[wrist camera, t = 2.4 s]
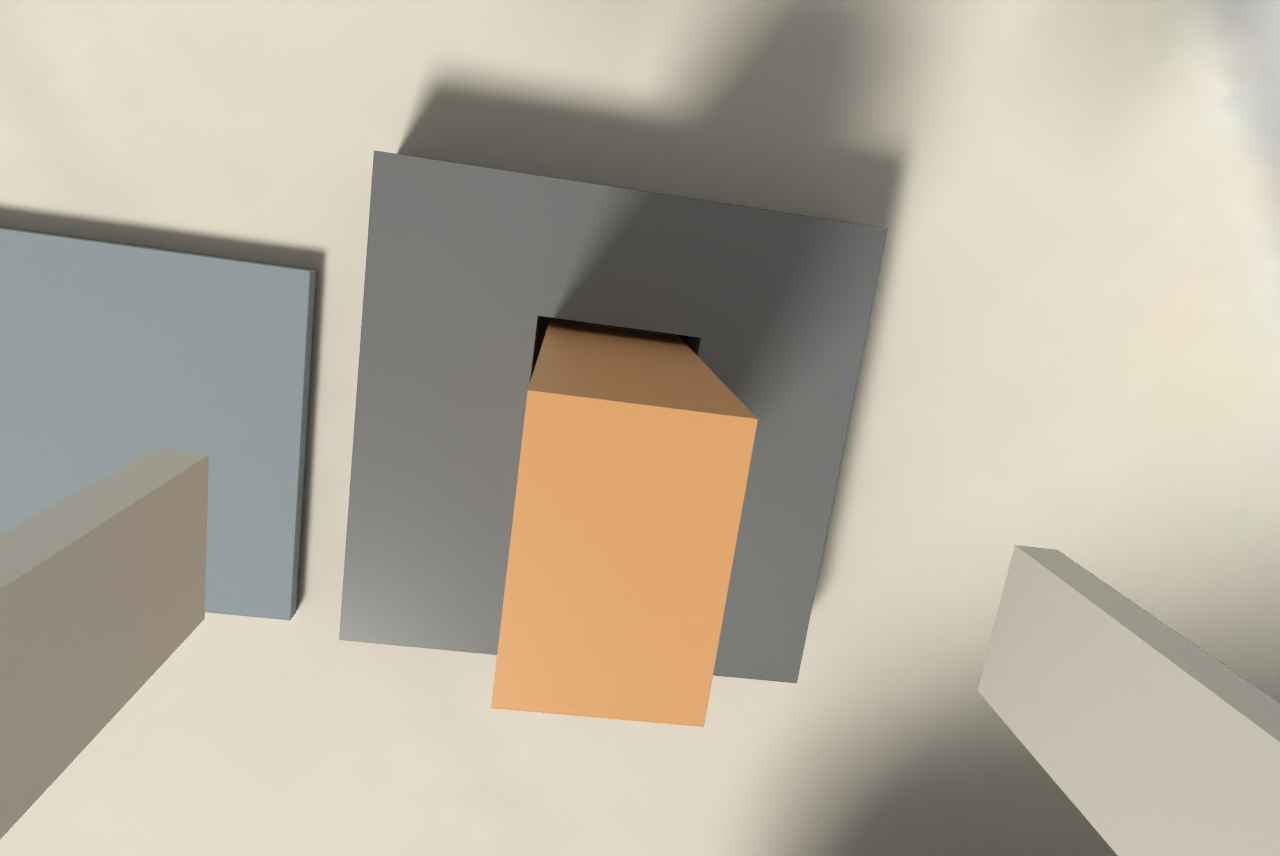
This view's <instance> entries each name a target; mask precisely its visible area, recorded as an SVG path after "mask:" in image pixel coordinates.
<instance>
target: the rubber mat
mask: <svg viewBox="0 0 1280 856" xmlns="http://www.w3.org/2000/svg"><path fill="white" fill-rule="evenodd" d="M315 283H316V270H310V269H303V268H296V267H288V266H281V265H274V264H266V263H259V262H252V261H244V260H237V259H230V258H222V257H215V256H208V255H200V254H193V253H186V252H179V251H171V250H164V249H157V248H149V247H142V246H135V245H127V244H120V243H113V242H105V241H98V240H91V239H83V238H76V237H69V236H62V235H54V234H47V233H40V232H32V231H25V230H18V229H10V228H3V227H0V535H1V534H2V533H4V532H6V531H8V530H10V529H12V528H13V527H15V526H17V525H19V524H21V523H22V522H24V521H26V520H28V519H30V518H31V517H33V516H35V515H37V514H39V513H41V512H42V511H44V510H46V509H48V508H50V507H51V506H53V505H55V504H57V503H59V502H61V501H62V500H64V499H66V498H68V497H70V496H71V495H73V494H75V493H77V492H79V491H80V490H82V489H84V488H86V487H88V486H90V485H91V484H93V483H95V482H97V481H99V480H100V479H102V478H104V477H106V476H108V475H109V474H111V473H113V472H115V471H117V470H119V469H120V468H122V467H124V466H126V465H128V464H129V463H131V462H133V461H135V460H137V459H139V458H140V457H142V456H144V455H146V454H148V453H149V452H151V451H153V450H155V449H165V450H174V451H183V452H192V453H201V454H209V471H208V507H207V543H206V579H205V612H209V613H220V614H230V615H240V616H251V617H261V618H272V619H282V620H291V618H292V617H293V615H294V614H295V613H296V604H297V587H298V570H299V554H300V537H301V520H302V503H303V486H304V469H305V452H306V435H307V418H308V401H309V384H310V367H311V351H312V334H313V317H314V300H315Z"/></svg>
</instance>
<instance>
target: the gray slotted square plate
mask: <svg viewBox="0 0 1280 856" xmlns="http://www.w3.org/2000/svg"><path fill="white" fill-rule="evenodd" d="M886 233H887V228H882V227H875V226H869V225H862V224H856V223H849V222H842V221H836V220H829V219H823V218H816V217H809V216H803V215H796V214H790V213H783V212H776V211H770V210H763V209H757V208H750V207H743V206H737V205H730V204H724V203H717V202H710V201H704V200H697V199H691V198H684V197H677V196H671V195H664V194H658V193H651V192H644V191H638V190H631V189H624V188H618V187H611V186H605V185H598V184H591V183H585V182H578V181H572V180H565V179H558V178H552V177H545V176H539V175H532V174H525V173H519V172H512V171H506V170H499V169H492V168H486V167H479V166H473V165H466V164H459V163H453V162H446V161H440V160H433V159H426V158H420V157H413V156H407V155H400V154H393V153H387V152H380V151H374V159H373V173H372V187H371V201H370V215H369V229H368V243H367V257H366V271H365V285H364V299H363V313H362V327H361V341H360V355H359V369H358V383H357V397H356V411H355V425H354V439H353V453H352V467H351V481H350V495H349V509H348V523H347V537H346V551H345V565H344V579H343V593H342V607H341V621H340V635H339V640H345V641H356V642H366V643H377V644H387V645H398V646H409V647H419V648H430V649H440V650H451V651H462V652H472V653H483V654H493V655H497V653H498V644H499V635H500V626H501V618H502V609H503V600H504V592H505V583H506V574H507V566H508V557H509V548H510V540H511V531H512V522H513V514H514V505H515V496H516V488H517V479H518V470H519V462H520V453H521V444H522V436H523V427H524V418H525V410H526V401H527V392H528V388H529V385H530V381H531V378H532V375H533V372H534V367H535V358H536V349H537V341H538V332H539V324H540V316H544V317H551V318H558V319H566V320H573V321H581V322H588V323H596V324H603V325H610V326H618V327H625V328H633V329H640V330H647V331H655V332H662V333H670V334H677V335H684V336H688V341H687V346H688V347H689V348H690V349H691V350H692V351H693V352H694V353H695V354H696V355H697V356H698V357H699V358H700V359H701V360H702V361H703V362H704V363H705V364H706V365H707V366H708V367H709V369H710V370H711V371H712V372H713V373H714V374H715V375H716V376H717V377H718V378H719V379H720V380H721V381H722V382H723V383H724V384H725V385H726V386H727V387H728V388H729V389H730V390H731V392H732V393H733V394H734V395H735V396H736V397H737V398H738V399H739V400H740V401H741V402H742V403H743V404H744V405H745V406H746V407H747V408H748V409H749V410H750V411H751V412H752V414H753V415H754V416H755V417H756V418H757V419H758V422H757V427H756V433H755V439H754V444H753V450H752V456H751V461H750V467H749V473H748V478H747V484H746V490H745V496H744V501H743V507H742V513H741V518H740V524H739V530H738V535H737V541H736V547H735V552H734V558H733V564H732V569H731V575H730V581H729V586H728V592H727V598H726V604H725V609H724V615H723V621H722V626H721V632H720V638H719V643H718V649H717V655H716V660H715V666H714V672H713V675H716V676H726V677H737V678H747V679H758V680H769V681H779V682H790V683H797V679H798V674H799V669H800V664H801V659H802V654H803V649H804V644H805V639H806V634H807V629H808V624H809V619H810V614H811V609H812V604H813V599H814V594H815V589H816V584H817V579H818V574H819V569H820V564H821V559H822V554H823V549H824V544H825V539H826V534H827V529H828V524H829V519H830V514H831V509H832V504H833V499H834V494H835V489H836V484H837V479H838V474H839V469H840V464H841V459H842V454H843V449H844V444H845V439H846V434H847V429H848V424H849V419H850V414H851V409H852V404H853V399H854V394H855V389H856V384H857V378H858V373H859V368H860V363H861V358H862V353H863V348H864V343H865V338H866V333H867V328H868V323H869V318H870V313H871V308H872V303H873V298H874V293H875V288H876V283H877V278H878V273H879V268H880V263H881V258H882V253H883V248H884V243H885V238H886Z"/></svg>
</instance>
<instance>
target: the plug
mask: <svg viewBox="0 0 1280 856" xmlns="http://www.w3.org/2000/svg"><path fill="white" fill-rule="evenodd" d="M757 422H758V419H757V418H756V417H755V416H754V415H753V414H752V412H751V411H750V410H749V409H748V408H747V407H746V406H745V405H744V404H743V403H742V402H741V401H740V400H739V399H738V398H737V397H736V396H735V395H734V394H733V393H732V392H731V390H730V389H729V388H728V387H727V386H726V385H725V384H724V383H723V382H722V381H721V380H720V379H719V378H718V377H717V376H716V375H715V374H714V373H713V372H712V371H711V370H710V369H709V367H708V366H707V365H706V364H705V363H704V362H703V361H702V360H701V359H700V358H699V357H698V356H697V355H696V354H695V353H694V352H693V351H692V350H691V349H690V348H689V347H688V346H687V344H686V343H685V342H684V341H683V340H682V339H681V338H680V337H679V336H674V335H667V334H660V333H652V332H645V331H637V330H630V329H622V328H615V327H608V326H600V325H593V324H585V323H578V322H570V321H563V320H556V319H550V321H549V324H548V327H547V330H546V333H545V337H544V340H543V343H542V346H541V349H540V353H539V356H538V359H537V362H536V365H535V369H534V372H533V375H532V378H531V381H530V385H529V388H528V392H527V401H526V410H525V418H524V427H523V436H522V444H521V453H520V462H519V470H518V479H517V488H516V496H515V505H514V514H513V522H512V531H511V540H510V548H509V557H508V566H507V574H506V583H505V592H504V600H503V609H502V618H501V626H500V635H499V644H498V653H497V661H496V670H495V679H494V687H493V696H492V705H491V708H496V709H508V710H519V711H530V712H542V713H553V714H564V715H576V716H587V717H598V718H610V719H621V720H633V721H644V722H655V723H667V724H678V725H689V726H701V727H704V723H705V717H706V712H707V706H708V700H709V694H710V689H711V683H712V677H713V672H714V666H715V660H716V655H717V649H718V643H719V638H720V632H721V626H722V621H723V615H724V609H725V604H726V598H727V592H728V586H729V581H730V575H731V569H732V564H733V558H734V552H735V547H736V541H737V535H738V530H739V524H740V518H741V513H742V507H743V501H744V496H745V490H746V484H747V478H748V473H749V467H750V461H751V456H752V450H753V444H754V439H755V433H756V427H757Z"/></svg>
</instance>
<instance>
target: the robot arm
mask: <svg viewBox="0 0 1280 856" xmlns="http://www.w3.org/2000/svg"><path fill="white" fill-rule="evenodd" d="M208 471H209V454H201V453H192V452H183V451H174V450H165V449H155V450H153V451H151V452H149V453H148V454H146V455H144V456H142V457H140V458H139V459H137V460H135V461H133V462H131V463H129V464H128V465H126V466H124V467H122V468H120V469H119V470H117V471H115V472H113V473H111V474H109V475H108V476H106V477H104V478H102V479H100V480H99V481H97V482H95V483H93V484H91V485H90V486H88V487H86V488H84V489H82V490H80V491H79V492H77V493H75V494H73V495H71V496H70V497H68V498H66V499H64V500H62V501H61V502H59V503H57V504H55V505H53V506H51V507H50V508H48V509H46V510H44V511H42V512H41V513H39V514H37V515H35V516H33V517H31V518H30V519H28V520H26V521H24V522H22V523H21V524H19V525H17V526H15V527H13V528H12V529H10V530H8V531H6V532H4V533H2V534H1V535H0V839H1V838H2V837H3V836H4V835H5V834H6V833H7V832H8V830H9V829H10V828H11V827H12V826H13V825H14V824H15V823H16V822H17V821H18V820H19V819H20V817H21V816H22V815H23V814H24V813H25V812H26V811H27V810H28V809H29V808H30V807H31V806H32V804H33V803H34V802H35V801H36V800H37V799H38V798H39V797H40V796H41V795H42V794H43V793H44V792H45V790H46V789H47V788H48V787H49V786H50V785H51V784H52V783H53V782H54V781H55V780H56V779H57V777H58V776H59V775H60V774H61V773H62V772H63V771H64V770H65V769H66V768H67V767H68V766H69V764H70V763H71V762H72V761H73V760H74V759H75V758H76V757H77V756H78V755H79V754H80V753H81V752H82V750H83V749H84V748H85V747H86V746H87V745H88V744H89V743H90V742H91V741H92V740H93V739H94V737H95V736H96V735H97V734H98V733H99V732H100V731H101V730H102V729H103V728H104V727H105V726H106V724H107V723H108V722H109V721H110V720H111V719H112V718H113V717H114V716H115V715H116V714H117V713H118V712H119V710H120V709H121V708H122V707H123V706H124V705H125V704H126V703H127V702H128V701H129V700H130V699H131V697H132V696H133V695H134V694H135V693H136V692H137V691H138V690H139V689H140V688H141V687H142V686H143V684H144V683H145V682H146V681H147V680H148V679H149V678H150V677H151V676H152V675H153V674H154V673H155V672H156V670H157V669H158V668H159V667H160V666H161V665H162V664H163V663H164V662H165V661H166V660H167V659H168V657H169V656H170V655H171V654H172V653H173V652H174V651H175V650H176V649H177V648H178V647H179V646H180V644H181V643H182V642H183V641H184V640H185V639H186V638H187V637H188V636H189V635H190V634H191V633H192V632H193V630H194V629H195V628H196V627H197V626H198V625H199V624H200V623H201V622H202V621H203V620H204V615H205V579H206V543H207V507H208ZM977 691H978V692H979V693H980V694H981V695H982V697H983V698H984V699H985V700H986V701H987V703H988V704H989V705H990V706H991V707H992V708H993V710H994V711H995V712H996V713H997V714H998V715H999V717H1000V718H1001V719H1002V720H1003V721H1004V723H1005V724H1006V725H1007V726H1008V727H1009V728H1010V730H1011V731H1012V732H1013V733H1014V734H1015V735H1016V737H1017V738H1018V739H1019V740H1020V741H1021V743H1022V744H1023V745H1024V746H1025V747H1026V748H1027V750H1028V751H1029V752H1030V753H1031V754H1032V755H1033V757H1034V758H1035V759H1036V760H1037V761H1038V763H1039V764H1040V765H1041V766H1042V767H1043V768H1044V770H1045V771H1046V772H1047V773H1048V774H1049V775H1050V777H1051V778H1052V779H1053V780H1054V781H1055V783H1056V784H1057V785H1058V786H1059V787H1060V788H1061V790H1062V791H1063V792H1064V793H1065V794H1066V795H1067V797H1068V798H1069V799H1070V800H1071V801H1072V803H1073V804H1074V805H1075V806H1076V807H1077V808H1078V810H1079V811H1080V812H1081V813H1082V814H1083V815H1084V817H1085V818H1086V819H1087V820H1088V821H1089V823H1090V824H1091V825H1092V826H1093V827H1094V828H1095V830H1096V831H1097V832H1098V833H1099V834H1100V835H1101V837H1102V838H1103V839H1104V840H1105V841H1106V843H1107V844H1108V845H1109V846H1110V847H1111V848H1112V850H1113V851H1114V852H1115V853H1116V854H1117V855H1118V856H1280V703H1279V702H1277V701H1276V700H1274V699H1273V698H1271V697H1270V696H1269V695H1267V694H1266V693H1264V692H1263V691H1261V690H1260V689H1258V688H1257V687H1255V686H1254V685H1253V684H1251V683H1250V682H1248V681H1247V680H1245V679H1244V678H1242V677H1241V676H1240V675H1238V674H1237V673H1235V672H1234V671H1232V670H1231V669H1229V668H1228V667H1226V666H1225V665H1224V664H1222V663H1221V662H1219V661H1218V660H1216V659H1215V658H1213V657H1212V656H1211V655H1209V654H1208V653H1206V652H1205V651H1203V650H1202V649H1200V648H1199V647H1197V646H1196V645H1195V644H1193V643H1192V642H1190V641H1189V640H1187V639H1186V638H1184V637H1183V636H1181V635H1180V634H1179V633H1177V632H1176V631H1174V630H1173V629H1171V628H1170V627H1168V626H1167V625H1166V624H1164V623H1163V622H1161V621H1160V620H1158V619H1157V618H1155V617H1154V616H1152V615H1151V614H1150V613H1148V612H1147V611H1145V610H1144V609H1142V608H1141V607H1139V606H1138V605H1137V604H1135V603H1134V602H1132V601H1131V600H1129V599H1128V598H1126V597H1125V596H1123V595H1122V594H1121V593H1119V592H1118V591H1116V590H1115V589H1113V588H1112V587H1110V586H1109V585H1107V584H1106V583H1105V582H1103V581H1102V580H1100V579H1099V578H1097V577H1096V576H1094V575H1093V574H1092V573H1090V572H1089V571H1087V570H1086V569H1084V568H1083V567H1081V566H1080V565H1078V564H1077V563H1076V562H1074V561H1073V560H1071V559H1070V558H1068V557H1067V556H1065V555H1064V554H1063V553H1061V552H1060V551H1058V550H1053V549H1044V548H1035V547H1026V546H1017V545H1015V548H1014V552H1013V556H1012V559H1011V563H1010V567H1009V571H1008V575H1007V579H1006V582H1005V586H1004V590H1003V594H1002V598H1001V602H1000V606H999V609H998V613H997V617H996V621H995V625H994V629H993V633H992V636H991V640H990V644H989V648H988V652H987V656H986V659H985V663H984V667H983V671H982V675H981V679H980V683H979V686H978V690H977Z"/></svg>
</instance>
